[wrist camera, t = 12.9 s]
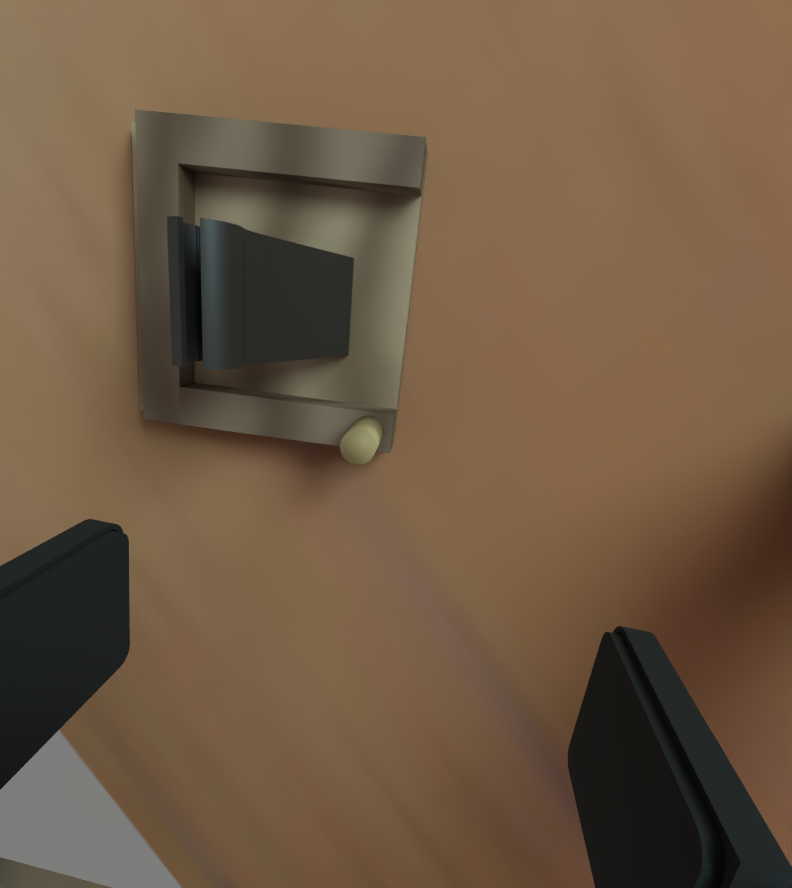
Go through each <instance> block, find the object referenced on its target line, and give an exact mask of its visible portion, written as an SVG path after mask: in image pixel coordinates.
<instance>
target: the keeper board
mask: <svg viewBox="0 0 792 888" xmlns="http://www.w3.org/2000/svg"><path fill="white" fill-rule="evenodd" d="M132 156H133V192H134V228H135V264H136V300H137V336H138V372H139V407H140V411H143V419H144V420H151V421H158V422H166V423H173V424H180V425H188V426H195V427H202V428H209V429H217V430H224V431H231V432H239V433H246V434H253V435H261V436H268V437H275V438H283V439H290V440H297V441H305V442H312V443H319V444H327V445H334V446H340V452H341V454H342V456H343V458H344V459H345V460H346V461H348V462H349V463H351V464H354V465H362V464H365V463H367V462H369V461H370V460H371V459H372V458H373V456H374V454H375V452H376V451H378V452H385V453H390V450H391V448H392V445H393V443H394V438H395V429H396V421H397V412H398V403H399V395H400V386H401V378H402V369H403V360H404V352H405V343H406V335H407V326H408V318H409V309H410V300H411V292H412V283H413V275H414V266H415V257H416V249H417V240H418V232H419V223H420V214H421V206H422V197H423V189H424V180H425V171H426V163H427V146H426V137H417V136H406V135H396V134H385V133H375V132H364V131H354V130H343V129H333V128H322V127H312V126H301V125H291V124H280V123H270V122H259V121H249V120H238V119H228V118H217V117H207V116H196V115H186V114H175V113H165V112H154V111H144V110H135V121H132ZM169 216H179V217H183V223H187V224H192V225H196V226H200V218H206V219H213V220H219V221H224V222H228V223H233V224H236V225H239V226H241V227H243V228H245V229H247V230H249V231H252V232H255V233H259V234H263V235H267V236H271V237H275V238H279V239H282V240H286V241H290V242H294V243H298V244H302V245H306V246H310V247H314V248H317V249H321V250H325V251H329V252H333V253H337V254H341V255H345V256H349V257H353V258H354V269H353V286H352V303H351V320H350V338H349V355H348V356H338V357H327V358H316V359H305V360H294V361H283V362H272V363H261V364H252V365H247V366H244V367H242V368H238V369H228V370H206V369H203V361H190V362H187V367H178V366H174V365H172V350H171V323H170V296H169V268H168V241H167V217H169Z"/></svg>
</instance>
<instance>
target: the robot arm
mask: <svg viewBox="0 0 792 888" xmlns="http://www.w3.org/2000/svg"><path fill="white" fill-rule="evenodd" d="M129 646H130V628H129V540H128V537H127V535H126V534H124V533H123V530H122V529H121V527H120V526H119V525H117V524H113V523H108V522H103V521H98V520H93V519H88V520H85V521H83V522H81V523H79V524H77V525H75V526H73V527H72V528H70V529H68V530H66V531H64V532H62V533H60V534H59V535H57V536H55V537H53V538H51V539H49V540H48V541H46V542H44V543H42V544H40V545H38V546H37V547H35V548H33V549H31V550H29V551H27V552H26V553H24V554H22V555H20V556H18V557H16V558H14V559H13V560H11V561H9V562H7V563H5V564H3V565H2V566H0V789H1V788H2V787H3V786H4V785H5V784H6V783H7V782H8V781H9V780H10V779H11V778H12V777H13V776H14V775H15V774H16V773H17V772H18V771H19V770H20V769H21V768H22V767H23V766H24V765H25V764H26V763H27V762H28V761H29V760H30V759H31V758H32V757H33V756H34V754H36V752H38V750H39V749H40V748H41V747H42V746H43V745H44V744H45V743H46V742H47V741H48V740H49V739H50V738H51V737H52V736H53V735H54V734H55V733H56V732H57V731H58V730H59V729H60V728H61V727H62V726H63V725H64V724H65V723H66V722H67V721H68V720H69V719H70V718H71V717H72V716H73V715H74V714H75V713H76V712H77V711H78V710H79V709H80V708H81V706H82V705H83V704H84V703H85V702H86V701H87V700H88V699H89V698H90V697H91V696H92V695H93V694H94V693H95V692H96V691H97V690H98V689H99V688H100V687H101V686H102V685H103V684H104V683H105V682H106V681H107V680H108V679H109V678H110V677H111V676H112V675H113V674H114V673H115V672H116V671H117V670H118V669H119V668H120V666H121V665H122V664H123V663H124V661H125V659H126V657H127V655H128V652H129ZM568 768H569V773H570V778H571V782H572V786H573V791H574V795H575V800H576V804H577V809H578V813H579V817H580V822H581V826H582V831H583V835H584V840H585V844H586V848H587V853H588V857H589V862H590V866H591V870H592V875H593V879H594V884H595V888H792V867H791V865H790V864H789V862H788V860H787V858H786V857H785V855H784V853H783V852H782V850H781V848H780V847H779V845H778V843H777V841H776V840H775V838H774V836H773V835H772V833H771V831H770V830H769V828H768V826H767V824H766V823H765V821H764V819H763V818H762V816H761V814H760V813H759V811H758V809H757V807H756V806H755V804H754V802H753V801H752V799H751V797H750V796H749V794H748V792H747V790H746V789H745V787H744V785H743V784H742V782H741V780H740V779H739V777H738V775H737V773H736V772H735V770H734V768H733V767H732V765H731V763H730V762H729V760H728V758H727V757H726V755H725V753H724V751H723V750H722V748H721V746H720V745H719V743H718V741H717V740H716V738H715V736H714V734H713V733H712V732H711V730H710V729H709V727H708V725H707V724H706V722H705V720H704V718H703V717H702V715H701V713H700V712H699V710H698V708H697V707H696V705H695V703H694V701H693V700H692V698H691V696H690V695H689V693H688V691H687V690H686V688H685V686H684V684H683V683H682V681H681V679H680V678H679V676H678V674H677V673H676V671H675V669H674V667H673V666H672V664H671V662H670V661H669V659H668V657H667V655H666V654H665V652H664V650H663V649H662V647H661V645H660V644H659V642H658V640H657V638H656V637H655V636H654V634H653V633H650V632H646V631H641V630H636V629H631V628H626V627H621V626H618V627H616V629H615V630H614V631H613V633H610V632H606V633H605V634H604V635H603V637H602V640H601V643H600V646H599V650H598V653H597V656H596V659H595V663H594V666H593V669H592V673H591V676H590V679H589V682H588V686H587V689H586V692H585V696H584V699H583V702H582V705H581V709H580V712H579V715H578V719H577V722H576V725H575V728H574V732H573V735H572V738H571V742H570V745H569V750H568ZM0 888H111V887H107V886H103V885H100V884H96V883H93V882H89V881H85V880H82V879H78V878H75V877H71V876H67V875H64V874H60V873H56V872H53V871H48V870H45V869H41V868H38V867H34V866H30V865H26V864H23V863H19V862H15V861H12V860H8V859H4V858H0Z"/></svg>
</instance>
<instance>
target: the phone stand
mask: <svg viewBox="0 0 792 888" xmlns="http://www.w3.org/2000/svg"><path fill="white" fill-rule="evenodd" d="M167 241H168V268H169V296H170V323H171V350H172V365H174V366H178V367H187V362H190V361H203V369H206V370H228V369H238V368H242V367H244V366H247V365H252V364H261V363H272V362H283V361H294V360H305V359H316V358H327V357H338V356H348V355H349V338H350V320H351V303H352V286H353V269H354V258H353V257H349V256H345V255H341V254H337V253H333V252H329V251H325V250H321V249H317V248H314V247H310V246H306V245H302V244H298V243H294V242H290V241H286V240H282V239H279V238H275V237H271V236H267V235H263V234H259V233H255V232H252V231H249V230H247V229H245V228H243V227H241V226H239V225H236V224H233V223H228V222H224V221H219V220H213V219H206V218H200V226H196V225H192V224H187V223H183V217H179V216H169V217H167Z"/></svg>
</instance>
